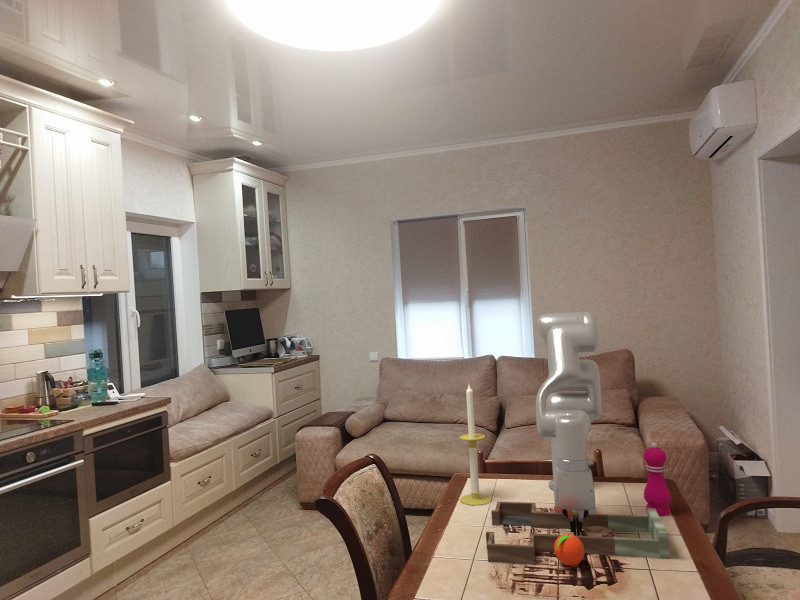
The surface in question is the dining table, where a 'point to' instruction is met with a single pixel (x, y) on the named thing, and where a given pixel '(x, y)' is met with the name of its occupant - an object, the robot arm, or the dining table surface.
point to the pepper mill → (656, 481)
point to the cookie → (598, 532)
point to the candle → (473, 456)
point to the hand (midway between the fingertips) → (576, 534)
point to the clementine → (569, 549)
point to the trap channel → (592, 545)
